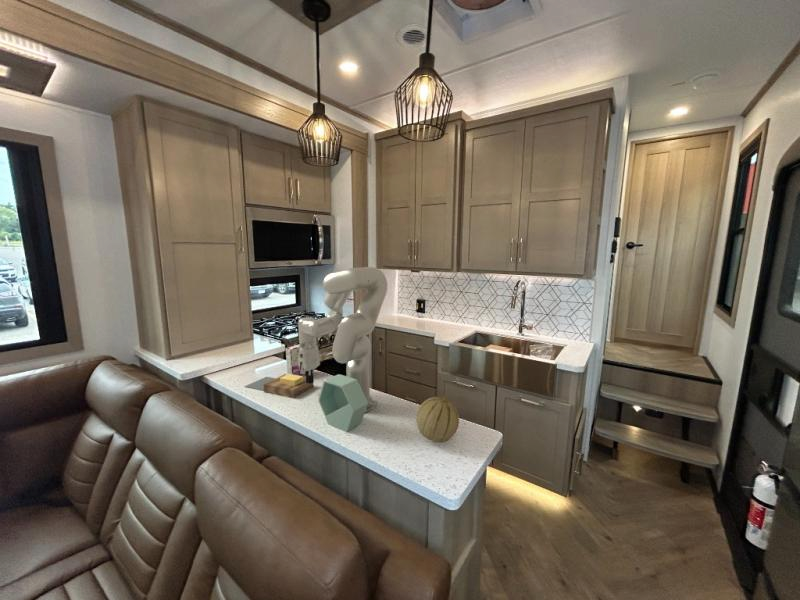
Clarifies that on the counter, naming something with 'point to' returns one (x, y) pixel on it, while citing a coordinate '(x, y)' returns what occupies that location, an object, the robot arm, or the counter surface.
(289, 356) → the candy bar box
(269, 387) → the block
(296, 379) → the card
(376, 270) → the robot arm
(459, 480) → the counter surface
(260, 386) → the mat
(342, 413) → the planter
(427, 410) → the cantaloupe
